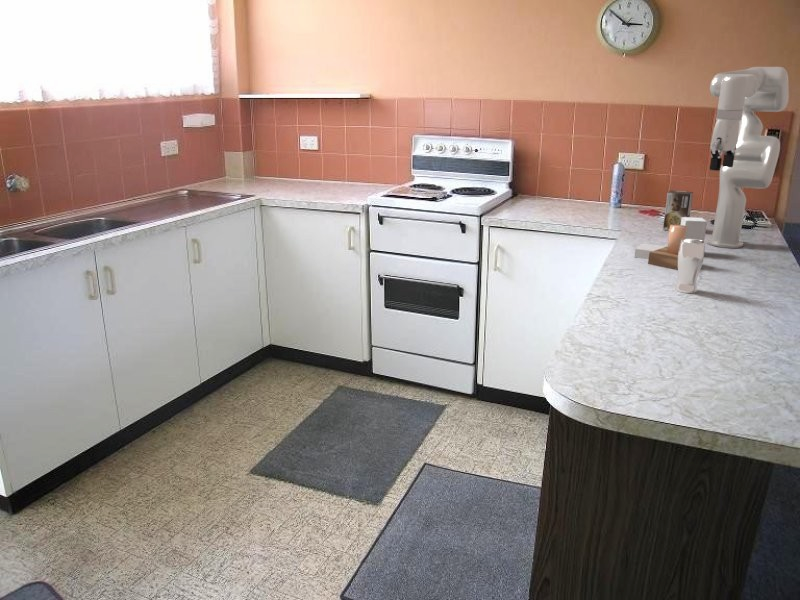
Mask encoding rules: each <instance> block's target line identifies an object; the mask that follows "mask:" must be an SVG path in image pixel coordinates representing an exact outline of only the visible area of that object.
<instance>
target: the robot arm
mask: <svg viewBox="0 0 800 600" xmlns="http://www.w3.org/2000/svg"><path fill="white" fill-rule="evenodd" d="M789 82H790V81H789V74H788V72H787V70H786V69H785V67H782V66H751V67H749V68H748V69H739V70H734V71H733V70H732V71H724V72H719V73H717V74H715V75H714V76H713V78H712V79H711V81H710V86H709V92H710V94H711V96H712V97H714V98H718V103H717V104H718V105H717V111H716V115H715V116H716V117H715V120H716V121H715V124H714V127H713V132H712V136H711V141H710V147H709V149H710V151H711V152H710V153H711V154H710V158H711V159H710V165H709V170H710V171H718V172H719V186H718V187H719V188H718V196H717V204H716V209H715V210H716V211H715V217H714V223H713V229H712V235H711V237H709V238H708V239H706V243H707V244H708V245H710V246H714V247H719V248H726V249H737V248H742V247H743V246H744V242H743V241H741V240H740V239H741V236H742V232H741V231H742V226H743V222H744V221H743V220H744V217H745V216H744V215H745V210H746V206H747V205H746V204H747V197H746V195H745V193H744V191H743V190H742V188H748V189H758V190H759V189H760V190H761V189H763V190H764V189H767V188H769V186H770V185H771V183H772V181H773V178H774V177H773V176H774V173H775V169H776V167H777V163H778V159H779V155H780V150H781V142H780V139H779V138H778V137H776V136H772V135H762V132H763V129H764V124H763V122H762V120H761V119H760V117H758V115H757V114H755V113H754V112H766V113H767V112H770V113H772V112H773V113H778V112H782V111H784V110H785V109H786V108H787V106H788V103H789V100H790V91H789V86H790V85H789ZM723 153H724V154H723ZM722 155H723V159H722ZM722 160H723V161H722Z"/></svg>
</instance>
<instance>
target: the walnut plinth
mask: <svg viewBox="0 0 800 600" xmlns="http://www.w3.org/2000/svg"><path fill="white" fill-rule="evenodd" d="M667 247H668V246H667ZM667 247H664V248H661V249H658V250H655V251H652V252H649V259H647V261H648V262H647V264H648V265H650V266H651V265H652V266H656V267H662V268H665V269H666V268H667V269H672V270H676V271H678V254H670V253H667Z"/></svg>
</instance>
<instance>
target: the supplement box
mask: <svg viewBox="0 0 800 600" xmlns="http://www.w3.org/2000/svg"><path fill="white" fill-rule="evenodd" d="M707 224H708V221H707V220H706V219H704V218H703V217H692V216H690V217H682V219H681V225H684V226H687V229H686V237H685V239H686V238H690V239H699V240H703V241H705V238H706V231H707Z"/></svg>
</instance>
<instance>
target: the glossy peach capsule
mask: <svg viewBox="0 0 800 600" xmlns="http://www.w3.org/2000/svg"><path fill="white" fill-rule="evenodd" d="M686 229H687V226H684V225H670V230H669V231H668V239H667V240H668V241H667V253H670V254H678V252H679V247H680V243H681V239H685V237H686Z"/></svg>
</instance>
